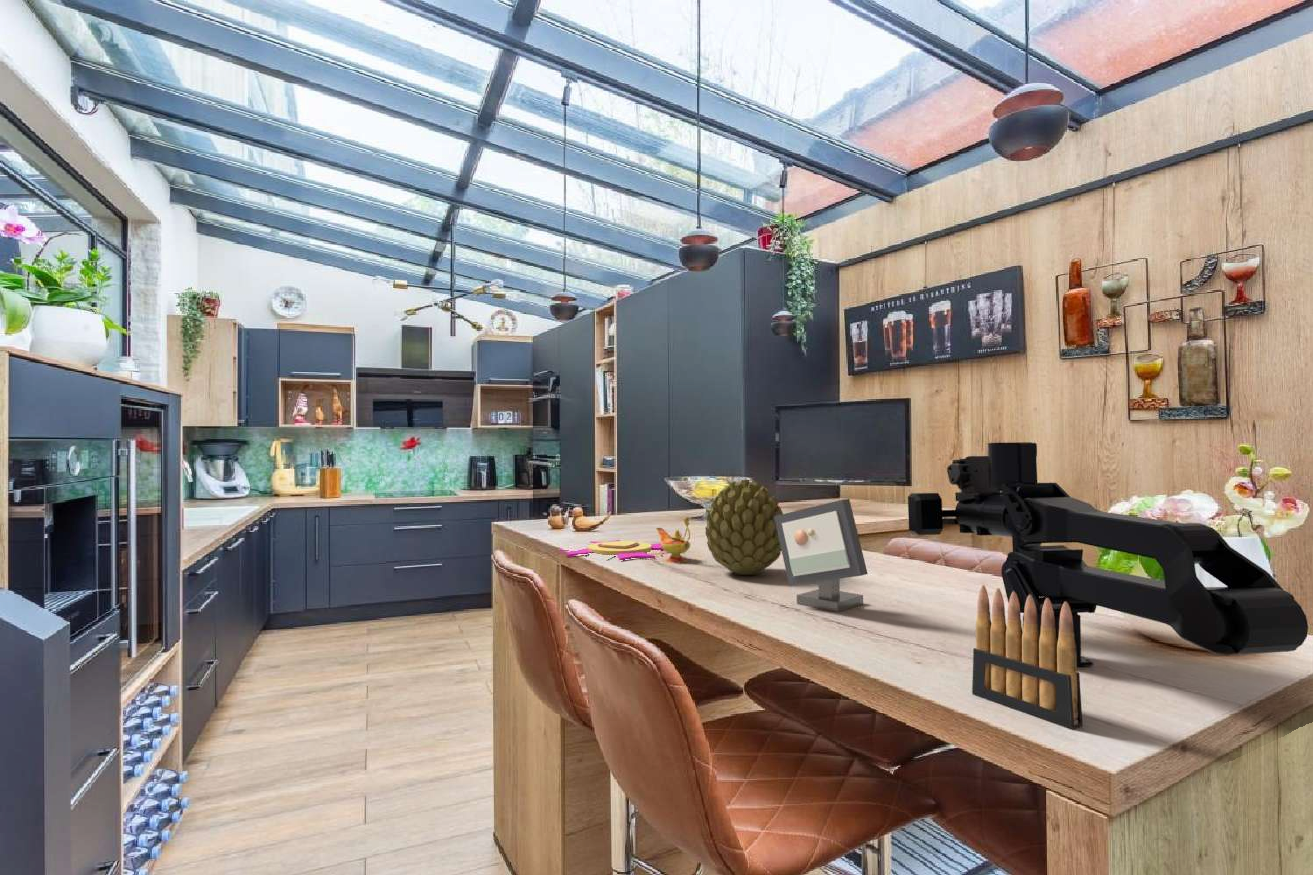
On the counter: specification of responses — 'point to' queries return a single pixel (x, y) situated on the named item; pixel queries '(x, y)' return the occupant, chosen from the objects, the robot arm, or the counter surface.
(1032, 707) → the ammunition clip
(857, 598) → the picture stand
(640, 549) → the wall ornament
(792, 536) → the picture frame
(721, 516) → the decorative object
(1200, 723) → the counter surface
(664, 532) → the magic lamp
